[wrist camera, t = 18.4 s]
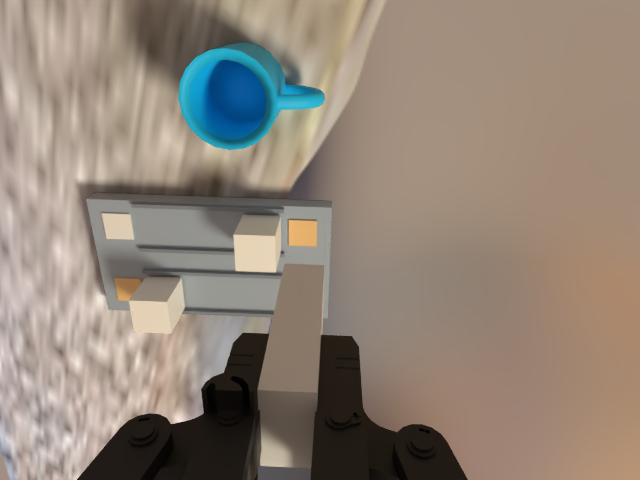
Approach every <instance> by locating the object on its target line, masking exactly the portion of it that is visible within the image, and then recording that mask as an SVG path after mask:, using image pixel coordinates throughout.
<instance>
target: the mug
mask: <svg viewBox="0 0 640 480" xmlns="http://www.w3.org/2000/svg"><path fill="white" fill-rule="evenodd" d="M324 100H325V96H324V93H323V92H322V91H321V90H319V89H316V88H312V87H306V86H299V85H290V84H286V80H285V75H284V73H283V71H282V68H281V66H280V64H279V63H278V61H277V60H276V59H275V58H274V57H273V56H272V55H271V53H270V52H268V51H266V50H265V49H263V48H261V47H260V46H258V45H254V44H250V43H245V42H243V43H235V44H229V45H225V46H222V47H218V48H215V49H211V50H209V51H207V52H205V53H203V54H201V55H199V56H197V57H196V58H195V59H194V60H193V61H192V62H191V63H190V64H189V65H188V66H187V67H186V69H185V71H184V74H183V76H182V78H181V81H180V86H179V102H180V107H181V111H182V115H183V116H184V118H185V120H186V122H187V124H188V125H189V127H190V129H191V130H192V131H193V132H194V133H195V134H196V135H197V136H199V137H200V138H201V139H202V140H204V141H205V142H207V143H209V144H211V145H213V146H214V147H219V148H223V149H228V150H233V149H243V148H246V147H248V146H250V145H253V144H255V143H257V142H258V141H259V140H260V139H261V138H262V137H263V136H265V135H266V134H267V133H268V131H269V129H270V128H271V126H272V124H273V123H274V121H275V119H276V118H277V116H278V114H279V112H280V111H281V109H307V108H314V107H318V106H320V105H321V104H323V103H324Z"/></svg>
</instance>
